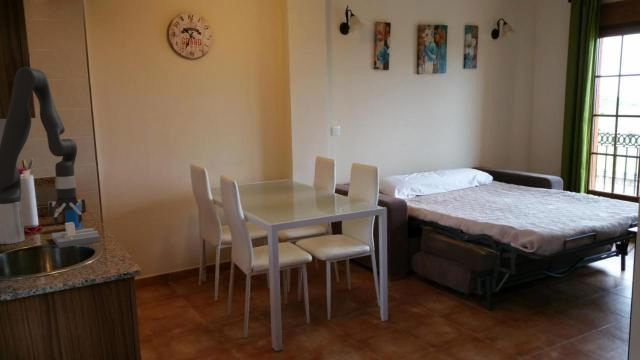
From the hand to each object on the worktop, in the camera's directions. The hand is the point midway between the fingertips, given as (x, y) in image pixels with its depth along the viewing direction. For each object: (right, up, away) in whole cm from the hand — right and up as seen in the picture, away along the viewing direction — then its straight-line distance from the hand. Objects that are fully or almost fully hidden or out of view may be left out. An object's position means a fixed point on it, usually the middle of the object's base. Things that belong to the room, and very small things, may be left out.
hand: (68, 224), depth 220 cm
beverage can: (-9, -4, +24) cm, 26 cm away
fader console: (+2, -7, +4) cm, 8 cm away
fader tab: (0, -5, +2) cm, 5 cm away
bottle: (-17, -2, +38) cm, 42 cm away
